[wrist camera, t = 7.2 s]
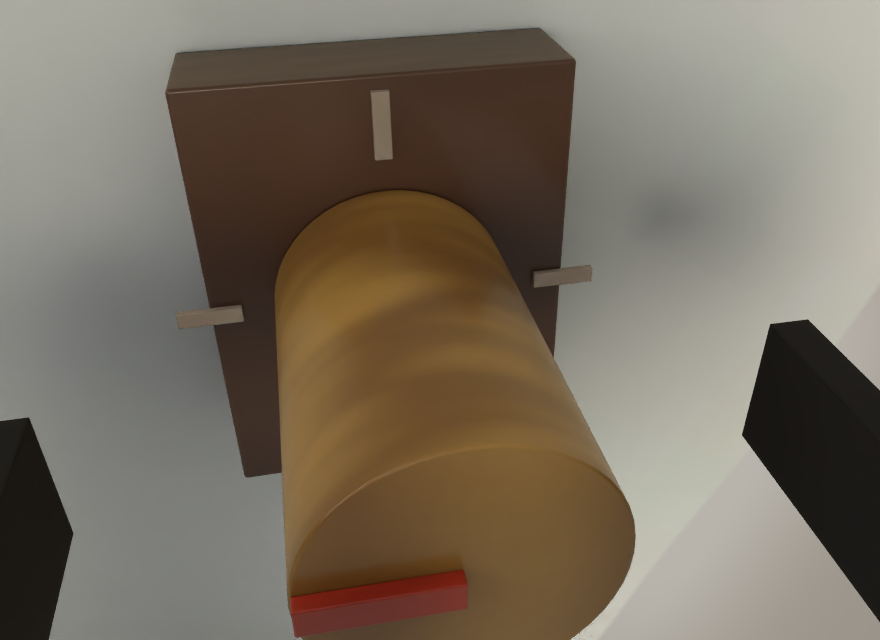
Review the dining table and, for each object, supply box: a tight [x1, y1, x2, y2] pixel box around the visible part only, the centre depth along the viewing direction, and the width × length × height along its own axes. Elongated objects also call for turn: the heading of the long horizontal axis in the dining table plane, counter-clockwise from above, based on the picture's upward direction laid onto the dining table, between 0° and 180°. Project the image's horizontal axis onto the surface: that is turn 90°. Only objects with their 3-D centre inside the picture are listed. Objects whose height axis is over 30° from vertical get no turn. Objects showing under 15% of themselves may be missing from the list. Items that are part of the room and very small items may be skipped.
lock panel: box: [165, 28, 592, 477], centre depth 20 cm, size 10×9×3 cm
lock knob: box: [274, 190, 636, 640], centre depth 15 cm, size 5×5×8 cm
